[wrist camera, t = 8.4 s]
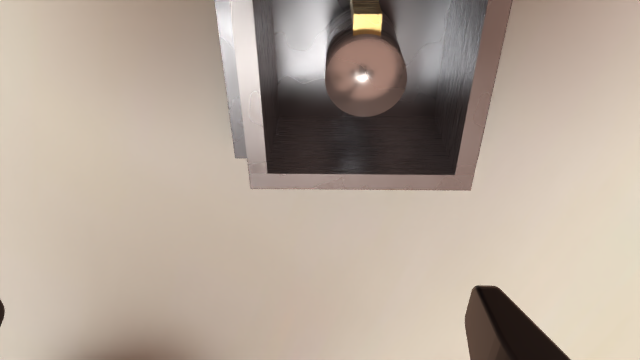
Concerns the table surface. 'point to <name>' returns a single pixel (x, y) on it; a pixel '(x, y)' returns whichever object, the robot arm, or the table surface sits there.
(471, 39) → the box
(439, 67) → the shaft stub
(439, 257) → the table surface
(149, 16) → the table surface
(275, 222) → the table surface
